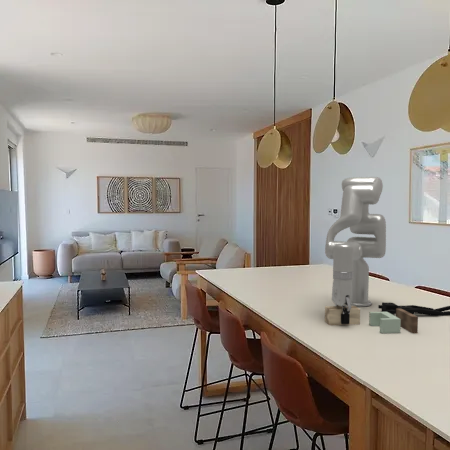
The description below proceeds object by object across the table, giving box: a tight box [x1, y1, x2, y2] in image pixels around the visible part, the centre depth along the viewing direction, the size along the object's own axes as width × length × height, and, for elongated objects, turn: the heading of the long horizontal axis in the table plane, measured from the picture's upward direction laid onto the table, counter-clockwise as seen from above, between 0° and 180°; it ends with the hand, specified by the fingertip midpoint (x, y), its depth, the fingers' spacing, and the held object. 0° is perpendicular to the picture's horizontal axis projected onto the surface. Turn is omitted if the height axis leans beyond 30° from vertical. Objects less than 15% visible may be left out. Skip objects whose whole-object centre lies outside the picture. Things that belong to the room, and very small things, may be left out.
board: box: [395, 309, 419, 334], centre depth 159 cm, size 20×29×7 cm
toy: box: [377, 302, 450, 317], centre depth 181 cm, size 10×5×30 cm
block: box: [368, 311, 401, 334], centre depth 158 cm, size 10×7×5 cm, turn 5°
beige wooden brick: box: [324, 305, 361, 326], centre depth 166 cm, size 6×12×6 cm, turn 95°
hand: (342, 321), depth 166 cm, fingers closed on beige wooden brick, 5 cm apart
